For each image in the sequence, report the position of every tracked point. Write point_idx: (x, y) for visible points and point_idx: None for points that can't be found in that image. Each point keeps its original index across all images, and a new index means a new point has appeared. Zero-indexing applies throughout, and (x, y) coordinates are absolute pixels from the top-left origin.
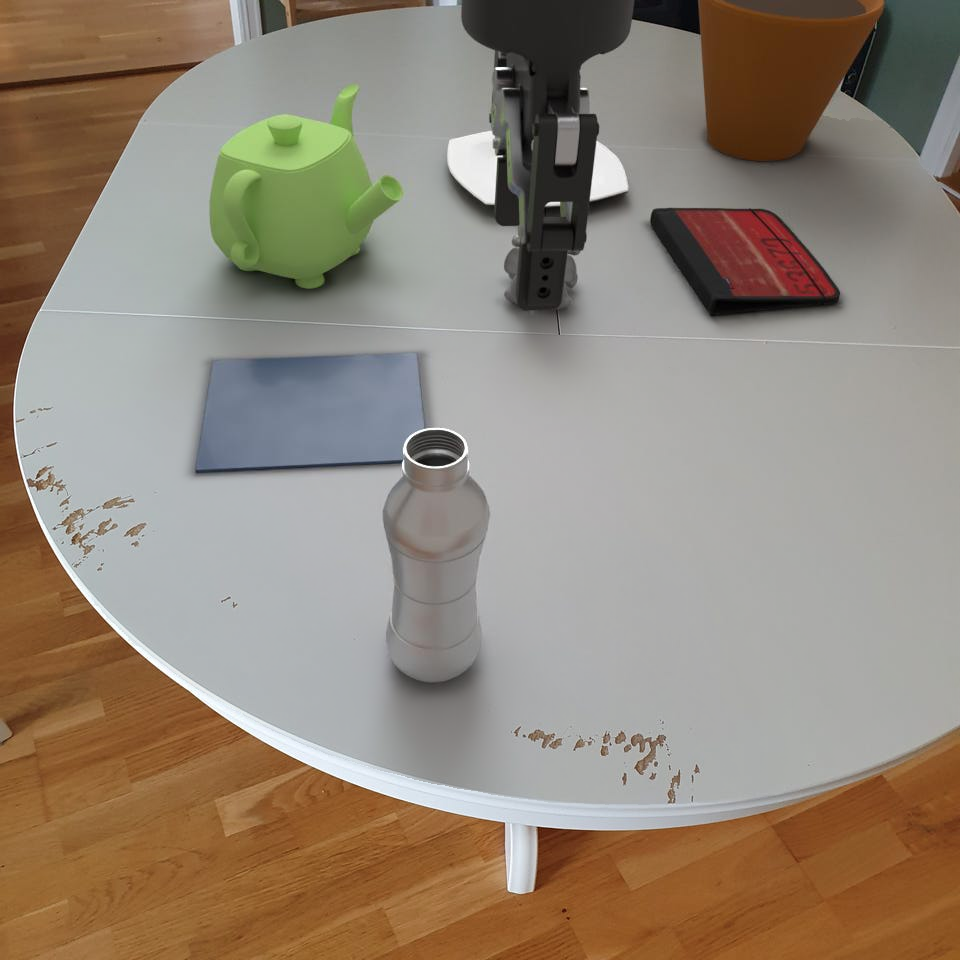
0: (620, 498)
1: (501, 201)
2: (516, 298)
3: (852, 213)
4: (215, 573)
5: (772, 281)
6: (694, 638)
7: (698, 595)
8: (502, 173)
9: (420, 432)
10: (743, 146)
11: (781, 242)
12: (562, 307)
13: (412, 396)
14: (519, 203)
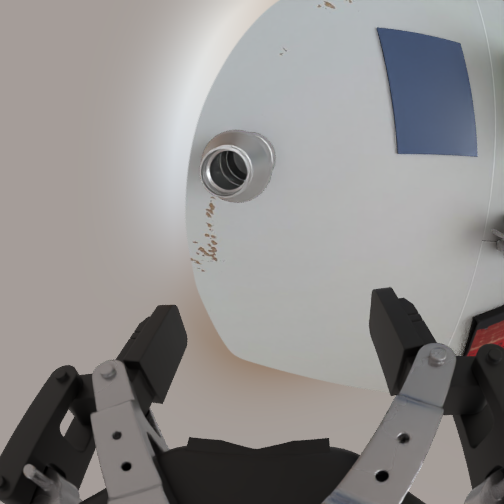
0: (364, 259)
1: (383, 312)
2: (165, 306)
3: None
4: (302, 42)
5: (479, 345)
6: (270, 281)
7: (296, 287)
8: (397, 341)
9: (243, 158)
10: None
11: None
12: (497, 245)
13: (446, 149)
14: (128, 395)
